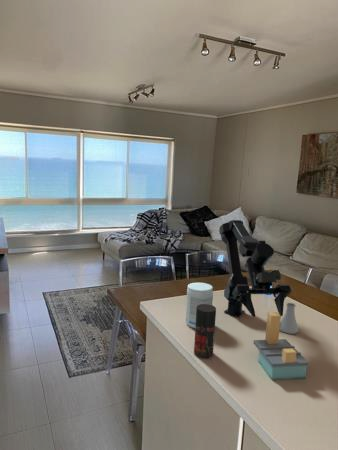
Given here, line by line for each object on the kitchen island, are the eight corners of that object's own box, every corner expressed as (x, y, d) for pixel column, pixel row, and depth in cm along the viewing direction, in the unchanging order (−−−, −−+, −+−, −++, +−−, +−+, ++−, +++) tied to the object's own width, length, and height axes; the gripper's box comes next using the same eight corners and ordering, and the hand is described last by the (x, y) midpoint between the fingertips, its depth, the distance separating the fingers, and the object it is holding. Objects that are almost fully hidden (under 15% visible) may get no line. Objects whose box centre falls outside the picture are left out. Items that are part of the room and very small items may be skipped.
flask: (299, 328, 124) (302, 302, 122) (298, 336, 117) (301, 309, 116) (279, 324, 127) (281, 299, 125) (276, 331, 120) (279, 305, 119)
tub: (258, 361, 100) (259, 349, 99) (289, 360, 101) (290, 348, 100) (271, 380, 91) (272, 366, 90) (305, 378, 92) (306, 365, 92)
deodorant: (192, 348, 105) (195, 303, 103) (210, 348, 106) (213, 304, 104) (195, 358, 100) (198, 311, 97) (214, 358, 100) (218, 311, 98)
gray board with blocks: (253, 343, 103) (256, 312, 101) (285, 342, 104) (288, 312, 103) (272, 367, 90) (275, 332, 88) (308, 365, 91) (312, 331, 90)
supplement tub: (216, 326, 122) (219, 288, 120) (196, 332, 117) (198, 292, 115) (199, 316, 130) (202, 280, 128) (180, 321, 125) (182, 284, 123)
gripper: (237, 260, 106) (248, 306, 97) (292, 260, 109) (307, 305, 100) (228, 276, 115) (237, 320, 106) (278, 276, 118) (291, 319, 109)
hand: (268, 316), depth 105 cm, fingers open, 9 cm apart
